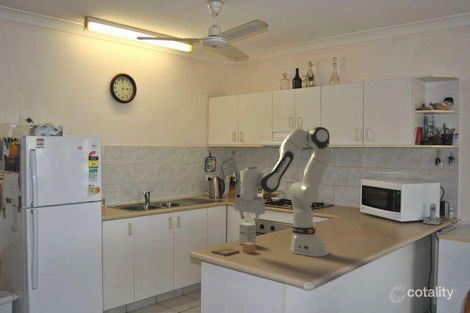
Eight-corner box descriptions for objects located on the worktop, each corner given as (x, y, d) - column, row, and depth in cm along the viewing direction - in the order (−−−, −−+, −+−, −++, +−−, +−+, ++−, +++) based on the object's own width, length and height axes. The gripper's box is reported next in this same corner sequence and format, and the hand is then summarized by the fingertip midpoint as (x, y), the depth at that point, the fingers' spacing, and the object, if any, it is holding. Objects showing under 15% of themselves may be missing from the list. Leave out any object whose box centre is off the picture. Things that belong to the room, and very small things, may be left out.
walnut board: (239, 252, 229) (239, 250, 229) (225, 256, 221) (225, 254, 221) (224, 248, 237) (224, 247, 237) (211, 252, 228) (211, 250, 228)
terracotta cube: (255, 252, 231) (255, 243, 231) (249, 253, 227) (249, 244, 227) (248, 250, 234) (248, 241, 234) (242, 252, 230) (243, 243, 230)
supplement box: (238, 244, 248) (239, 223, 248) (247, 242, 253) (248, 222, 253) (246, 246, 243) (247, 225, 243) (256, 244, 248) (256, 224, 247)
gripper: (268, 197, 225) (267, 222, 225) (239, 193, 239) (239, 217, 239) (261, 198, 220) (260, 223, 221) (232, 194, 234) (232, 218, 234)
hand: (249, 220), depth 230 cm, fingers open, 8 cm apart
